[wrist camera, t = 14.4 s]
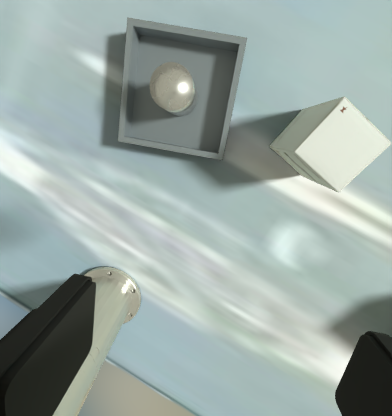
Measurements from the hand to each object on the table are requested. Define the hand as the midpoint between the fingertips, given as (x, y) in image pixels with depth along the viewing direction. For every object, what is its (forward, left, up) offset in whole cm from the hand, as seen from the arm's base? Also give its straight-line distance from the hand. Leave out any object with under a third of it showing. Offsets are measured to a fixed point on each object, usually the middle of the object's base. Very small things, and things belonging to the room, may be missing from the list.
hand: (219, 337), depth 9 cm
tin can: (+11, +8, -32) cm, 35 cm away
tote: (+12, +8, -33) cm, 36 cm away
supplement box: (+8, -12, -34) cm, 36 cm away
